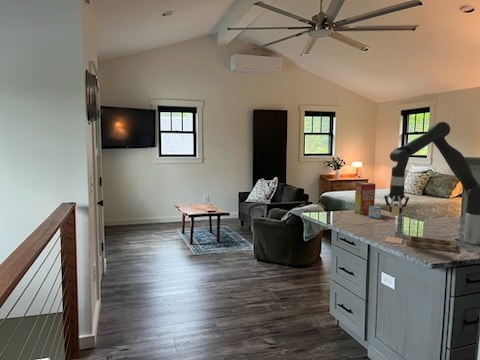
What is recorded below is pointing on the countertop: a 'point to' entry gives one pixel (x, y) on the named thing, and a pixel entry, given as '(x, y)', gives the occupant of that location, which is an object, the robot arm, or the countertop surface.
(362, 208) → the food packaging
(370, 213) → the medicine box
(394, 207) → the lever cap
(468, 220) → the robot arm
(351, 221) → the countertop surface
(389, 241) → the mat
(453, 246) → the open wooden frame
